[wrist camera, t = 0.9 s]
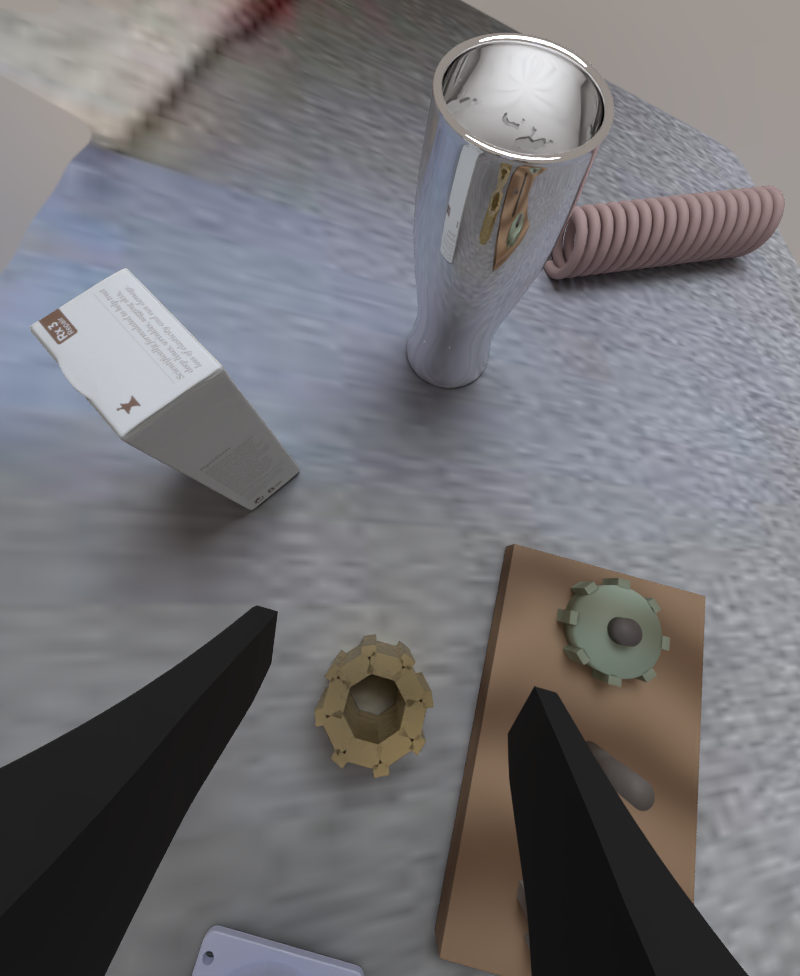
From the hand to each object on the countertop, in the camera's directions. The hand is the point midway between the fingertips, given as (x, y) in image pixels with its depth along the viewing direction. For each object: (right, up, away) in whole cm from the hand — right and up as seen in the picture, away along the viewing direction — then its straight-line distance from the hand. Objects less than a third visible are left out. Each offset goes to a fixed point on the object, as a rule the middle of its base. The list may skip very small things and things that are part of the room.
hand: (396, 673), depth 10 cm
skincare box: (-10, +7, +15) cm, 19 cm away
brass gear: (-1, -6, +11) cm, 13 cm away
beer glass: (+4, +15, +18) cm, 23 cm away
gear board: (+10, -10, +11) cm, 18 cm away
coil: (+21, +25, +21) cm, 39 cm away
